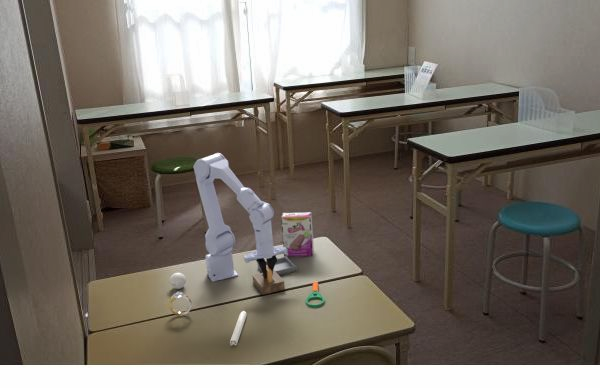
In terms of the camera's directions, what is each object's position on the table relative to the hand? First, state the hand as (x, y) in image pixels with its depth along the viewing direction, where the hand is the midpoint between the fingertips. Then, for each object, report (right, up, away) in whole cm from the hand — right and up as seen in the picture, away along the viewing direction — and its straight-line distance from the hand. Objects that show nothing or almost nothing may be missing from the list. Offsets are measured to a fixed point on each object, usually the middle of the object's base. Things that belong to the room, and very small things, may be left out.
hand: (267, 277), depth 201 cm
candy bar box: (+11, +5, +24) cm, 27 cm away
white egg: (-32, -5, +5) cm, 33 cm away
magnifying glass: (+16, -6, -8) cm, 19 cm away
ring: (-27, -10, -14) cm, 32 cm away
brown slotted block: (0, -3, +1) cm, 3 cm away
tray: (+3, +1, +13) cm, 13 cm away
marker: (-7, -12, -24) cm, 28 cm away
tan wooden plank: (0, -3, +1) cm, 3 cm away
